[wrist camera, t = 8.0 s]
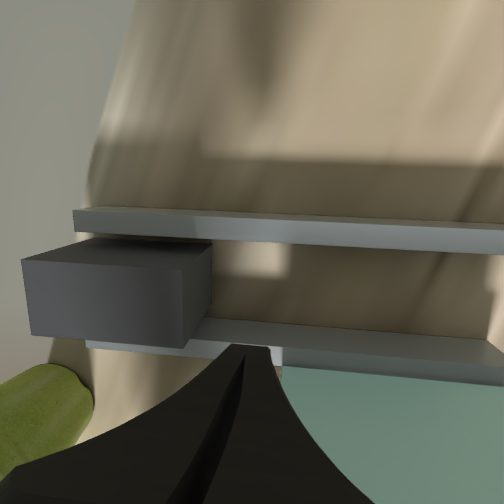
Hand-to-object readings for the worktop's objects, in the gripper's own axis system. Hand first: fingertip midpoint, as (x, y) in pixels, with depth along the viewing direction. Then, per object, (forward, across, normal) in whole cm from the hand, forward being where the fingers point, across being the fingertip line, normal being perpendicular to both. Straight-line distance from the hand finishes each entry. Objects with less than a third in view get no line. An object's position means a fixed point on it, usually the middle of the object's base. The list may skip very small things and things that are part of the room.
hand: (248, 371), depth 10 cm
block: (+10, +8, 0) cm, 13 cm away
